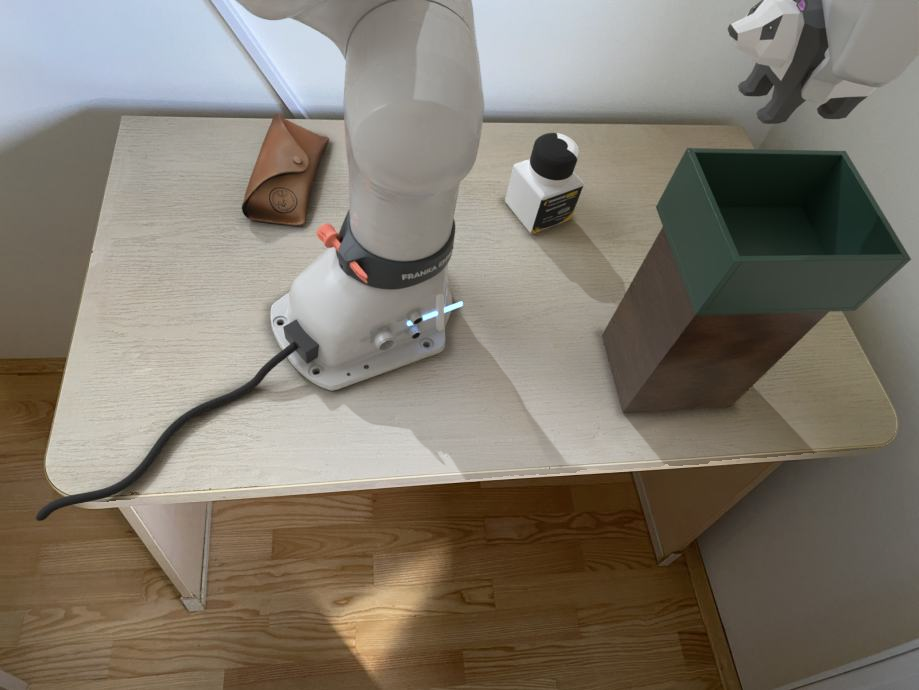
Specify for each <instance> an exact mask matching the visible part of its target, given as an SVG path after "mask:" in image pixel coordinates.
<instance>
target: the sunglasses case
mask: <svg viewBox="0 0 919 690" xmlns="http://www.w3.org/2000/svg"><path fill="white" fill-rule="evenodd" d="M267 129H268V130H267V131H266V134H265V136H264V139H263V141H262V144H261V147H260V151H259V152H258V156H257V158H256V161H255V164H254V167H253V170H252V172H251V175H250V177H249V181H248V183H247V187H246V191H245V195H244V199H243V202H242V204H241V212H242V214H243V215H244V216H245V218H247V219H248V220H249V221H252V222H258V223H263V224H272V225H279V226H293V227H300V226H303V225H305V224H306V220H307V215H308V207H309V200H310V198H311V197H310V196H311V193H312V188H313V185H314V181H315V178H316V175H317V171H318V168H319V165H320V162H321V160H322V157H323V154H324V152H325V150H326V147H327V146H328V143H329V140H330V137H328V136H321V135H319V134H318V133H316V132H313V131H311V130H309V129H307V128H305V127H302V125H298V124H297V123H295V122H292V121H291V120H288V119H287V118H284V117H282V116H281V114H280V113H276V114H274V116H273V117H272V119H271V122H270V124H269V127H268V128H267Z"/></svg>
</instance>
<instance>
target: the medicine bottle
mask: <svg viewBox="0 0 919 690" xmlns="http://www.w3.org/2000/svg"><path fill="white" fill-rule="evenodd" d="M580 155H581V152H580V148H579V146H578V144H577V143H576V142H575V140H573V139H572V138H571V137H570V136H567V135H565V134H563V133H559V132H547V133H544V134H542V135H540V136H538V137H537V138H536V139H535V141H534V143H533V145H532V150H531V153H530V158H529V159H525V160H522V161H519V162H516V163H514V164H513V167H512V170H511V174H510V178H509V182H508V186H507V189H506V193H505V198H504V202H505V204H506V205H507V206H508V207H509V209H510V210H511V211H512V212H513V214H514V215H515V216H516V218H517V219H518V220H519V221H520V222H521V224H522V225H523V226H524V228H525V229H526V230H527V231H528V233H529V234H531V235H534V234H536V233H539V232H541V231H544V230H547V229H549V228H552V227H554V226H555V227H556V226H557V225H560V224H562V223H565V222H568V221H570V220H571V219H572V217H573V215H574V212H575V209H576V206H577V205H578V201H579V199H580V196H581V194H582V192H583V188H584V186H585V183H584V181H582V179H581V178H580V177H579V176H578V174H576V172H575V169H576V167H577V163H578V161H579V158H580Z"/></svg>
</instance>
